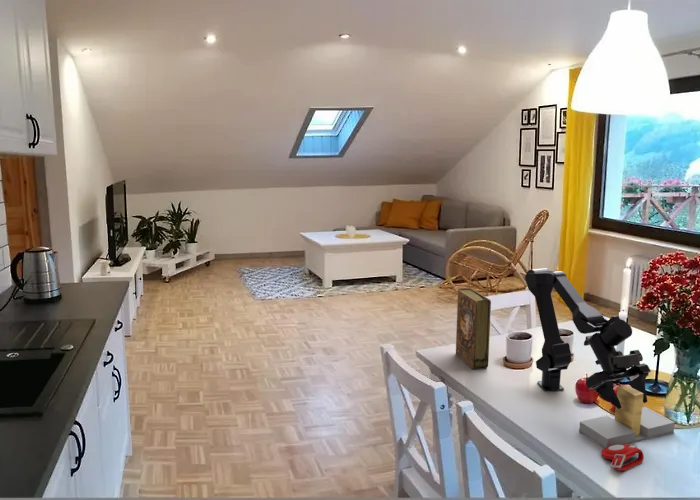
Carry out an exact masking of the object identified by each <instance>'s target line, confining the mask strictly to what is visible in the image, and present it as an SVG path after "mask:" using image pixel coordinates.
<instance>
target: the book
mask: <svg viewBox="0 0 700 500" xmlns="http://www.w3.org/2000/svg"><path fill="white" fill-rule="evenodd" d="M491 306H492V301H491V299H490V298H488V297H487V296H485V295H483V294H481V293H479V292H478V291H477V290H475V289H472V288H467V287H465V288H458V289H457V306H456V309H457V312H456V334H455V336H456V338H455V339H456V340H455V356H457V357H458V358H459V359H460V360H461V361H462V362H463V363H465V364H466V365H467V366H468V367H469V368H470V369H472V370H475V369H477V368H486V369H487V368H488V366H489V355H490V335H491V334H490V332H491V330H490V329H491V309H492V307H491Z"/></svg>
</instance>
